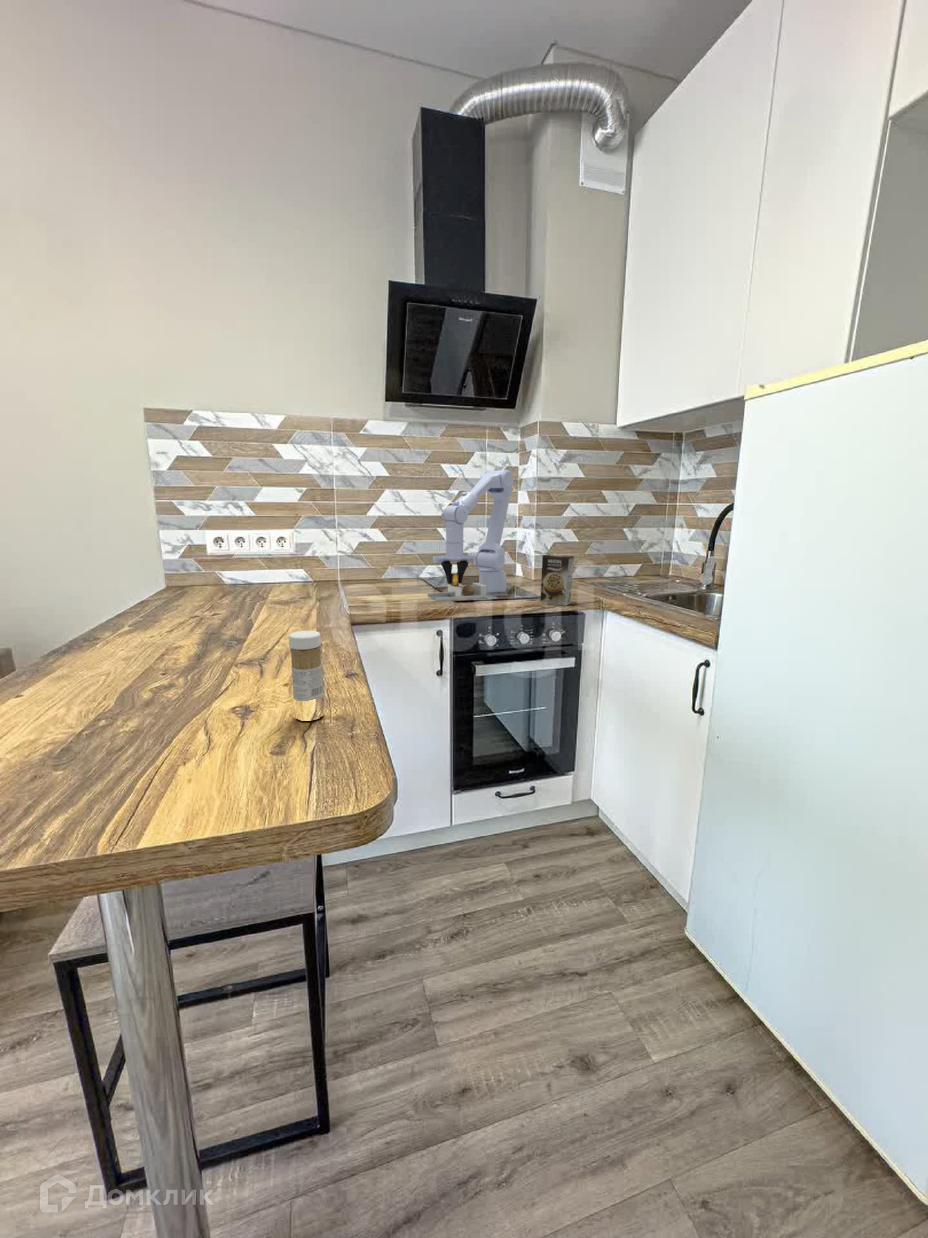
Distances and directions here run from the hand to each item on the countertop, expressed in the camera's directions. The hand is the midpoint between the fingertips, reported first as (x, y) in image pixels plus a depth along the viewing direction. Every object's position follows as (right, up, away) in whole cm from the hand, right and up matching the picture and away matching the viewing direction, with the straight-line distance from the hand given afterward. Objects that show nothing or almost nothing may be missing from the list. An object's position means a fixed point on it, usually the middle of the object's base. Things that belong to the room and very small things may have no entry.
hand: (454, 583), depth 176 cm
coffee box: (+34, -7, 0) cm, 35 cm away
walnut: (+5, -4, +3) cm, 7 cm away
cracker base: (+1, -6, +2) cm, 6 cm away
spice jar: (-21, -27, -95) cm, 101 cm away
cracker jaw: (0, -4, +1) cm, 4 cm away
